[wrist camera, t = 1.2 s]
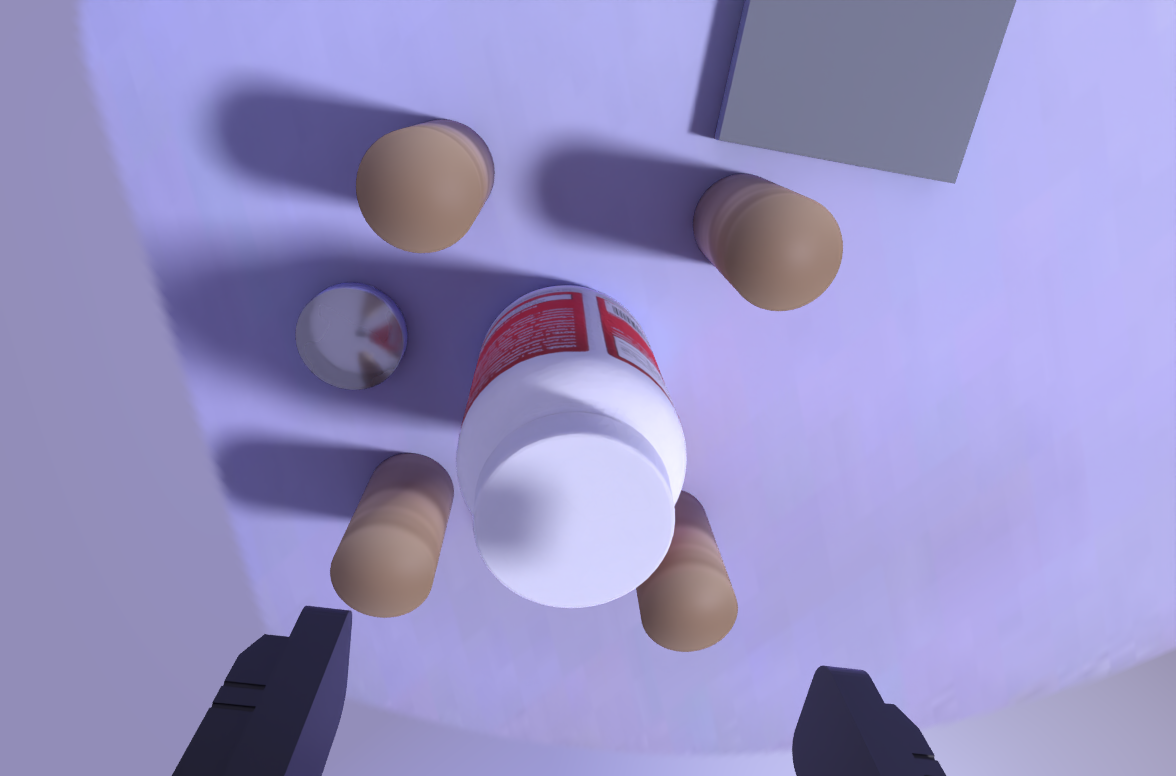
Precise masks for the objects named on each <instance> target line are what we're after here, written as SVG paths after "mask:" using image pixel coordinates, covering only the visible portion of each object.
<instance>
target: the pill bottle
mask: <svg viewBox="0 0 1176 776" xmlns="http://www.w3.org/2000/svg"><path fill="white" fill-rule="evenodd" d="M686 463H687V455H686V444H685V438H684V434H683V430H682V426H681V422H680V419H679V417H678V415H677V413H676V410H675V408H674V405H673V402H672V400H671V398H670V395H669V393H668V390H667V388H666V385H665V383H664V380H663V378H662V375H661V373H660V370H659V368H658V365H657V363H656V360H655V357H654V355H653V352H652V350H651V347H650V345H649V342H648V340H647V338H646V335H645V333H644V332H643V330H642V328H641V326H640V325H639V323H638V322H637V320H636V319H635V318H634V316H633V315H632V314H631V313H630V312H629V311H628V310H627V309H626V308H625V307H624V306H622V305H621V304H620V303H619V302H617V301H616V300H614V299H613V298H611V297H610V296H608V295H606V294H604V293H601V292H599V291H596V290H593V289H590V288H586V287H581V286H572V285H561V286H551V287H546V288H542V289H538V290H535V291H532V292H530V293H528V294H525V295H524V296H522V297H520V298H518V299H517V300H516V301H514V302H513V303H512V304H510V305H509V306H508V307H507V308H505V309H504V310H503V311H502V312H501V314H500V315H499V316H498V317H497V318H496V319H495V321H494V322H493V324H492V325H491V327H490V328H489V330H488V332H487V334H486V336H485V339H484V342H483V344H482V347H481V350H480V353H479V357H478V362H477V366H476V370H475V374H474V378H473V382H472V386H471V390H470V394H469V397H468V402H467V406H466V410H465V414H464V417H463V421H462V425H461V430H460V434H459V440H458V447H457V456H456V467H457V477H458V482H459V486H460V490H461V493H462V496H463V498H464V501H465V503H466V505H467V507H468V509H469V511H470V512H471V514H472V516H473V532H474V537H475V541H476V545H477V548H478V550H479V553H480V555H481V557H482V559H483V561H484V563H485V564H486V566H487V567H488V569H489V570H490V572H491V573H492V574H493V575H494V576H495V577H496V578H497V579H498V580H499V581H500V582H501V583H502V584H503V585H504V586H506V587H507V588H508V589H510V590H511V591H513V592H514V593H516V594H517V595H519V596H521V597H523V598H525V599H528V600H531V601H533V602H536V603H539V604H542V605H548V606H552V607H559V608H581V607H589V606H595V605H599V604H603V603H606V602H609V601H612V600H614V599H617V598H619V597H621V596H623V595H626V594H627V593H629V592H630V591H632V590H634V589H635V588H637V587H638V586H639V585H641V584H642V583H643V582H644V581H645V580H646V579H648V578H649V577H650V575H651V574H652V573H653V572H654V571H655V570H656V569H657V567H658V566H659V565H660V563H661V562H662V560H663V558H664V557H665V555H666V553H667V551H668V549H669V547H670V544H671V541H672V537H673V534H674V526H675V508H674V506H675V504H676V502H677V500H678V498H679V495H680V492H681V489H682V486H683V482H684V478H685V472H686Z"/></svg>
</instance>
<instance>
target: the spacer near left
mask: <svg viewBox="0 0 1176 776" xmlns="http://www.w3.org/2000/svg"><path fill="white" fill-rule="evenodd" d="M494 174H495V172H494V163H493V159H492V156H491V153H490V151H489V149H488V147H487V145H486V144H485V142H484V141H483V139H482V138H481V137H480V136H479V135H478V134H477V133H476V132H475V131H473V130H472V129H471V128H469V127H468V126H466V125H464V124H461V123H459V122H456V121H452V120H433V121H429V122H425V123H421V124H417V125H414V126H410V127H406V128H402V129H399V130H396V131H392V132H390V133H388V134H386V135H384V136H383V137H381V138H380V139H378V140H377V141H376V142H375V143H374V144H372V145H371V147H370V148H369V149H368V150H367V152H366V153H365V155H364V157H363V158H362V161H361V163H360V165H359V169H358V172H357V178H356V193H357V200H358V203H359V207H360V209H361V212H362V214H363V216H364V218H365V220H366V222H367V223H368V224H369V226H370V227H371V228H372V230H373V231H374V232H375V233H376V234H377V235H378V236H379V237H381V238H382V239H383V240H384V241H386V242H387V243H389V244H391V245H393V246H394V247H396V248H399V249H402V250H404V251H409V252H414V253H431V252H436V251H440V250H443V249H445V248H447V247H450V246H451V245H453V244H454V243H456V242H457V241H458V240H460V239H461V238H462V237H463V236H464V235H465V234H466V233H467V231H468V230H469V229H470V227H471V226H472V224H473V222H474V221H475V219H476V217H477V216H478V214H479V212H480V210H481V209H482V207H483V205H484V204H485V202H486V200H487V199H488V197H489V195H490V193H491V190H492V187H493V183H494Z"/></svg>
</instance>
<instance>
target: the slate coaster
mask: <svg viewBox="0 0 1176 776" xmlns="http://www.w3.org/2000/svg"><path fill="white" fill-rule="evenodd" d="M1015 2H1016V0H745V2H744V7H743V11H742V16H741V20H740V25H739V29H738V34H737V38H736V43H735V47H734V52H733V56H732V61H731V65H730V70H729V74H728V79H727V83H726V88H725V92H724V97H723V101H722V106H721V110H720V115H719V119H718V124H717V128H716V133H715V137H714V139H717V140H721V141H726V142H732V143H737V144H743V145H748V146H753V147H759V148H764V149H770V150H775V151H781V152H786V153H791V154H797V155H802V156H808V157H813V158H818V159H824V160H829V161H835V162H840V163H846V164H851V165H856V166H862V167H867V168H873V169H878V170H884V171H889V172H894V173H900V174H905V175H911V176H916V177H922V178H927V179H932V180H938V181H943V182H949V183H954V184H955V182H956V179H957V176H958V173H959V170H960V167H961V164H962V161H963V158H964V155H965V152H966V149H967V146H968V143H969V140H970V137H971V134H972V131H973V128H974V125H975V122H976V119H977V116H978V113H979V110H980V107H981V104H982V101H983V98H984V95H985V92H986V89H987V86H988V83H989V80H990V77H991V74H992V71H993V68H994V65H995V62H996V59H997V56H998V53H999V50H1000V47H1001V44H1002V41H1003V38H1004V35H1005V32H1006V29H1007V26H1008V23H1009V20H1010V17H1011V14H1012V11H1013V8H1014V5H1015Z"/></svg>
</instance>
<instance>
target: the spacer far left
mask: <svg viewBox="0 0 1176 776" xmlns="http://www.w3.org/2000/svg"><path fill="white" fill-rule="evenodd" d="M453 497H454V488H453V483H452V480H451V478H450V476H449V474H448V473H447V471H446V470H445V469H444V468H443V467H442V466H441V465H440V464H439V463H437V462H436V461H434V460H433V459H431V458H429V457H426V456H423V455H419V454H412V453H406V454H399V455H395V456H392V457H390V458H388V459H386V460H385V461H383V462H382V463H381V464H380V465H379V466H378V467H377V468H376V469H375V471H374V472H373V474H372V476H371V478H370V480H369V483H368V485H367V487H366V489H365V491H364V493H363V495H362V498H361V500H360V502H359V504H358V506H357V508H356V510H355V513H354V515H353V517H352V519H351V521H350V523H349V525H348V527H347V530H346V532H345V534H344V536H343V538H342V540H341V542H340V545H339V547H338V549H337V551H336V553H335V555H334V557H333V560H332V563H331V568H330V576H331V581H332V584H333V587H334V589H335V591H336V593H337V594H338V596H339V597H340V598H341V599H342V600H343V601H344V602H345V603H346V604H347V605H348V606H350V607H351V608H353V609H354V610H356V611H358V612H360V613H363V614H366V615H369V616H374V617H382V618H387V617H396V616H401V615H404V614H406V613H409V612H411V611H413V610H414V609H416V608H417V607H419V606H420V605H421V604H422V603H423V602H424V601H425V599H426V598H427V596H428V595H429V593H430V590H431V588H432V584H433V580H434V576H435V572H436V567H437V563H438V559H439V555H440V551H441V547H442V543H443V539H444V535H445V531H446V527H447V522H448V518H449V514H450V510H451V506H452V502H453Z"/></svg>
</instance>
